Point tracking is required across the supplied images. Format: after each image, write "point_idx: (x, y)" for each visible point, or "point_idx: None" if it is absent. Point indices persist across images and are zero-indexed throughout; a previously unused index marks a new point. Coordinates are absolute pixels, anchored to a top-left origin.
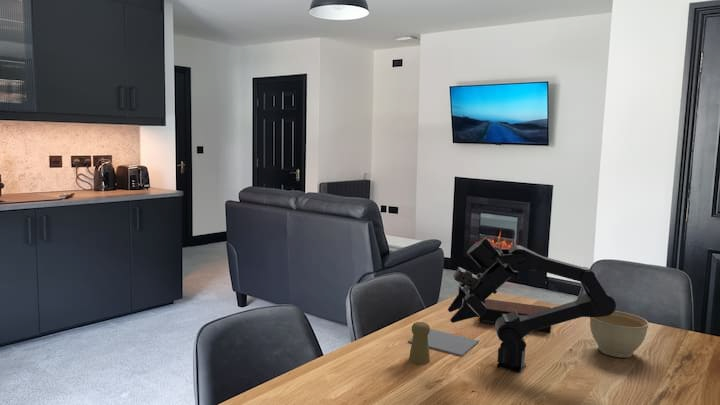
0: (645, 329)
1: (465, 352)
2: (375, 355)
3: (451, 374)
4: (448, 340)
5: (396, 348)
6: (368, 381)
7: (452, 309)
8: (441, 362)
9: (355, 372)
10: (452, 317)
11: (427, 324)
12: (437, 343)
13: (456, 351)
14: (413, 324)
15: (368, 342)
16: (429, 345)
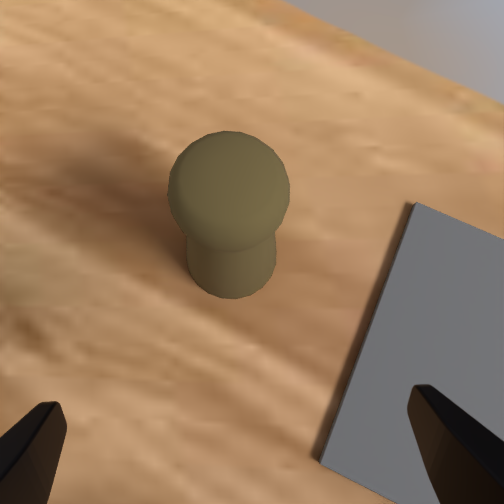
0: None
1: (362, 485)
2: (245, 96)
3: (98, 395)
4: (492, 394)
5: (333, 164)
6: (19, 89)
7: (426, 443)
8: (225, 351)
9: (88, 48)
10: (9, 432)
11: (230, 219)
12: (431, 335)
13: (356, 433)
14: (221, 131)
15: (363, 67)
16: (392, 296)
